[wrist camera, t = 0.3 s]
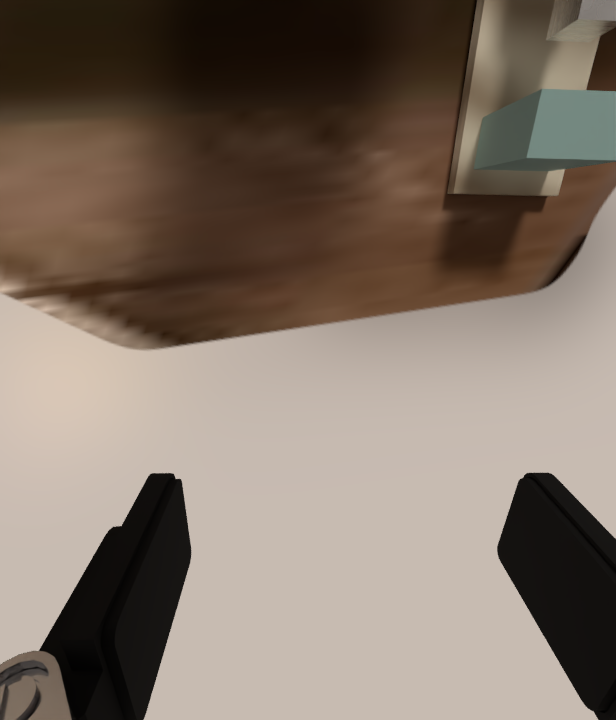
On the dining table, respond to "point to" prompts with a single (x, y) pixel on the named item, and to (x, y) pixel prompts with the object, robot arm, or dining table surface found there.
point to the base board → (512, 87)
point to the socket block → (550, 132)
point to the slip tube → (581, 20)
